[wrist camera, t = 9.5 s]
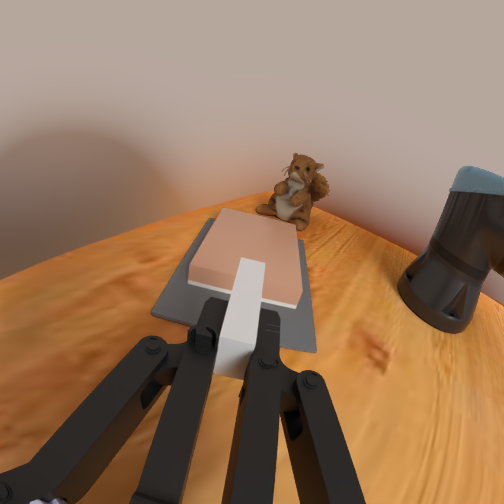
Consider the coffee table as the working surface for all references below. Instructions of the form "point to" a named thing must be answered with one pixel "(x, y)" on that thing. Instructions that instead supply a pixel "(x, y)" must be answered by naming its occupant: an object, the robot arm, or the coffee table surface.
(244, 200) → the coffee table surface
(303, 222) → the stuffed squirrel
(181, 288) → the mat
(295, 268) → the tile
